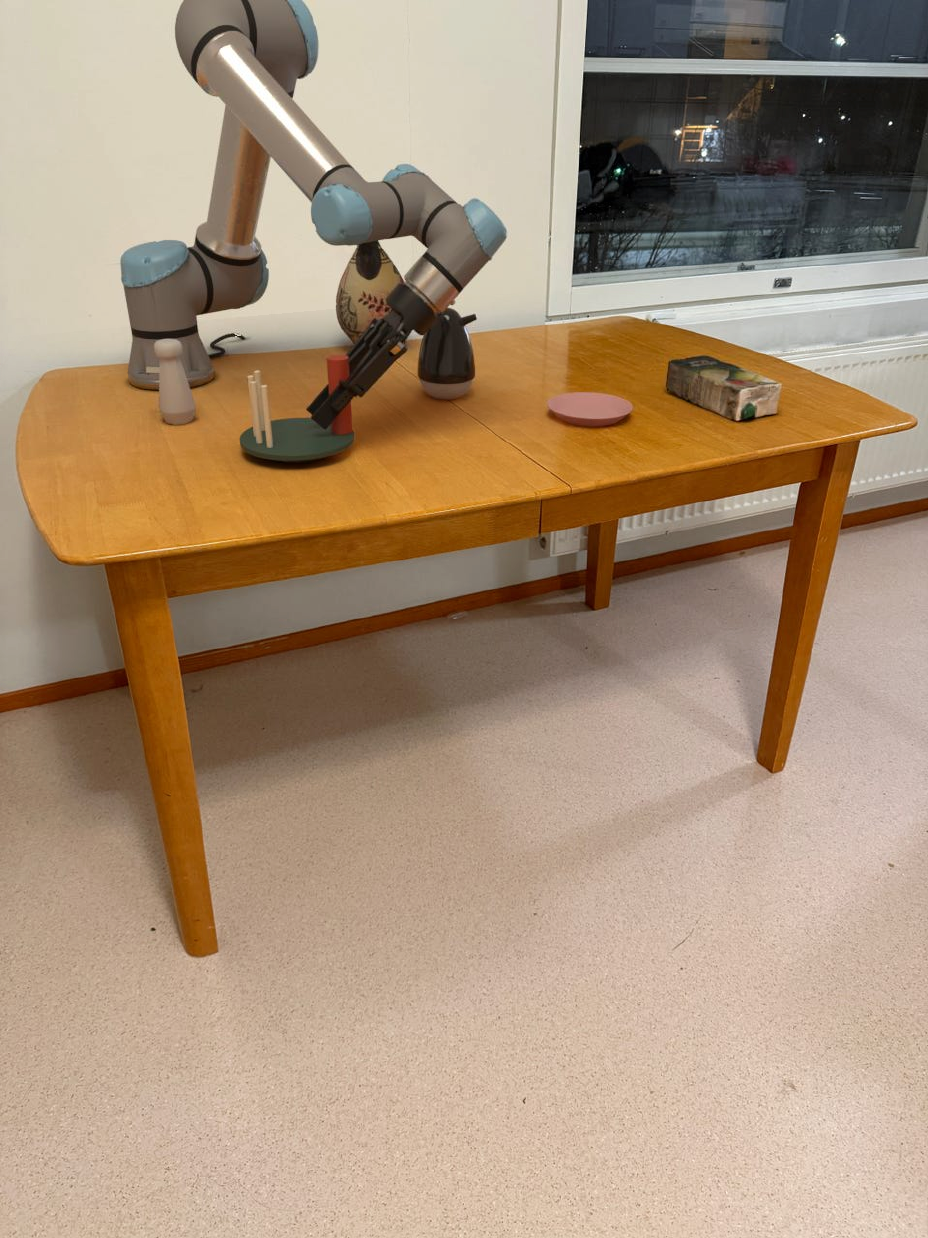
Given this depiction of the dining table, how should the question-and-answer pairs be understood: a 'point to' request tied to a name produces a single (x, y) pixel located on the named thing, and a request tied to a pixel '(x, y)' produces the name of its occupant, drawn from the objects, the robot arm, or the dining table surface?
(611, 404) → the plate
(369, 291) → the ceramic jug
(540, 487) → the dining table surface
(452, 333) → the pump dispenser
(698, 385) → the juice carton
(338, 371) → the drying rack
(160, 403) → the salt shaker
